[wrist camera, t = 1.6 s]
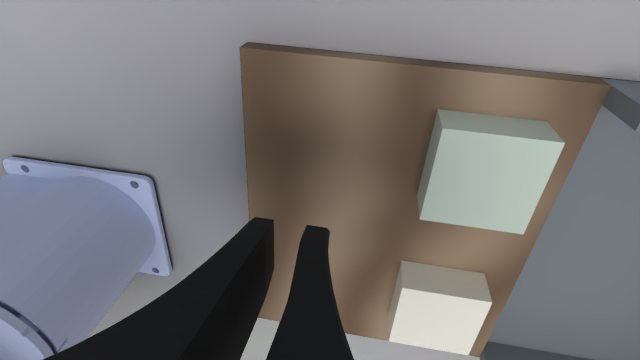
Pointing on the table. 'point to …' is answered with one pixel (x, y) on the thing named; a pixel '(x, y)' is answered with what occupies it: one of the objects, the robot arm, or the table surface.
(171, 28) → the table surface
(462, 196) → the sage tile
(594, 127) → the tray
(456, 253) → the walnut board
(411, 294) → the cream tile
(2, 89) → the table surface
